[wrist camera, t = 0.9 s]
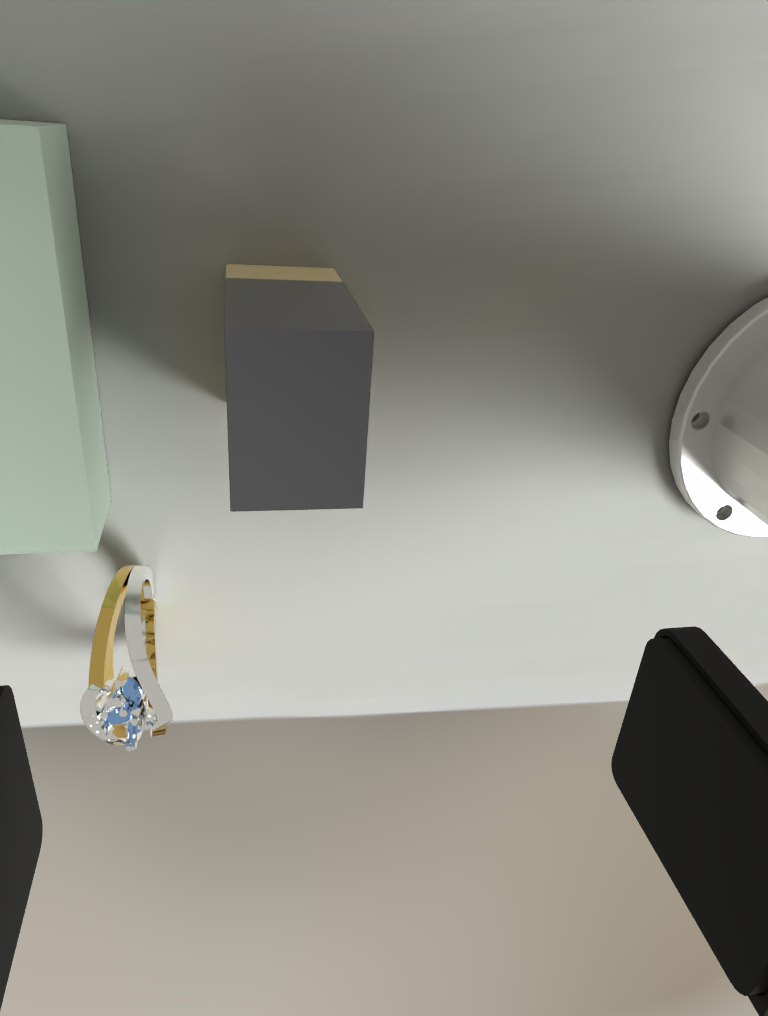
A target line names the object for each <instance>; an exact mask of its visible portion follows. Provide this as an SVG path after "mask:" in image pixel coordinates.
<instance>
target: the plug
mask: <svg viewBox="0 0 768 1016" xmlns="http://www.w3.org/2000/svg"><path fill="white" fill-rule="evenodd" d="M224 332H225V361H226V391H227V421H228V450H229V480H230V509H231V511H269V510H308V509H347V508H363V497H364V481H365V465H366V450H367V434H368V418H369V402H370V387H371V371H372V355H373V340H374V330H373V329H372V327H371V326H370V324H369V323H368V321H367V319H366V318H365V316H364V315H363V313H362V312H361V310H360V308H359V307H358V305H357V304H356V302H355V300H354V299H353V297H352V296H351V294H350V293H349V291H348V289H347V288H346V286H345V285H344V283H343V282H342V280H341V278H340V277H339V275H338V274H337V272H336V270H335V269H334V268H319V267H293V266H267V265H241V264H226V290H225V324H224Z"/></svg>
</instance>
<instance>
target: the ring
mask: <svg viewBox="0 0 768 1016" xmlns="http://www.w3.org/2000/svg"><path fill="white" fill-rule="evenodd" d="M125 596H126V599H125V634H126V641H127V647H128V652H129V656H130V660H131V663H132V666H133V669H134V672H135V674H136V675H135V674H134V673H132V672H130V669H128V668H126V667H122V668H121V670H120V673H119V675H118V677H117V680H112V679H113V677H114V675H113V645H114V636H115V630H116V625H117V620H118V616H119V613H120V610H121V606H122V604H123V601H124V598H125ZM155 608H156V592H154V582H153V576H152V572H151V569H150V567H149V566H138V565H125V566H123V567H121V568H120V569H119V571H118V572H117V573H116V575H115V577H114V578H113V580H112V582H111V584H110V586H109V588H108V591H107V593H106V596H105V598H104V601H103V604H102V607H101V611H100V614H99V618H98V622H97V626H96V630H95V635H94V640H93V646H92V653H91V661H90V672H89V688H88V689H87V690H86V691H85V693H84V694H83V696H82V699H81V703H80V713H81V717H82V719H83V721H84V723H85V725H86V726H87V727H88V729H89V730H90V731H91V732H92V733H94V734H95V735H96V736H97V737H99V738H100V739H102V740H103V741H105V742H107V743H109V744H111V745H125V744H126V749H127V750H128V751H132V750H134V749H136V748H137V741H138V740H139V738H140V736H141V734H142V731H143V730H148V729H150V732H151V737H155V736H160V735H165V733H166V724H168V723H170V722H171V721H172V718H173V715H172V711H171V708H170V705H169V703H168V701H167V699H166V697H165V695H164V694H163V692H162V690H161V688H160V686H159V684H158V672H157V647H156V619H155ZM104 694H107V697H106V701H105V703H104V706H103V707H102V705H101V697H102V696H103V695H104ZM147 698H148V704H147ZM124 722H127V725H126V727H125V728H124V727H122V726H121V725H119V724H122V723H124Z"/></svg>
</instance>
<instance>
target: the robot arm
mask: <svg viewBox="0 0 768 1016" xmlns="http://www.w3.org/2000/svg"><path fill="white" fill-rule="evenodd" d="M669 453H670V466H671V470H672V473H673V476H674V480H675V483H676V486H677V487H678V489H679V491H680V492H681V494H682V496H683V497H684V499H685V501H686V502H687V503H688V504H689V505H690V506H691V507H692V508H693V509H694V510H695V511H696V512H697V513H698V514H700V515H701V516H702V517H703V518H704V519H706V520H707V521H708V522H709V523H711V524H712V525H714V526H715V527H717V528H720V529H722V530H725V531H727V532H730V533H732V534H736V535H743V536H749V537H768V297H767V298H765V299H763V300H762V301H760V302H758V303H757V304H755V305H753V306H752V307H751V308H750V309H748V310H747V311H746V312H745V313H743V314H742V315H741V316H739V317H738V318H737V319H736V320H734V321H733V322H732V323H731V324H730V325H729V326H728V327H727V328H726V329H725V330H724V331H723V332H722V333H721V334H720V335H719V336H718V337H717V338H716V340H715V341H714V342H713V343H712V344H711V345H710V346H709V347H708V349H707V350H706V352H705V353H704V354H703V356H702V357H701V359H700V360H699V362H698V363H697V364H696V366H695V367H694V369H693V370H692V372H691V374H690V376H689V378H688V380H687V382H686V384H685V386H684V388H683V390H682V392H681V394H680V397H679V400H678V403H677V406H676V409H675V412H674V415H673V419H672V424H671V432H670V439H669ZM612 772H613V776H614V780H615V782H616V784H617V785H618V787H619V789H620V791H621V793H622V794H623V796H624V798H625V800H626V801H627V803H628V805H629V807H630V808H631V810H632V812H633V813H634V815H635V817H636V819H637V820H638V822H639V824H640V826H641V827H642V829H643V831H644V833H645V834H646V836H647V838H648V839H649V841H650V843H651V845H652V846H653V848H654V850H655V852H656V853H657V855H658V857H659V858H660V860H661V862H662V864H663V866H664V867H665V869H666V871H667V872H668V874H669V876H670V877H671V879H672V881H673V883H674V885H675V886H676V888H677V890H678V892H679V893H680V895H681V897H682V899H683V900H684V902H685V904H686V906H687V907H688V909H689V911H690V912H691V914H692V916H693V918H694V919H695V921H696V923H697V925H698V926H699V928H700V930H701V931H702V933H703V935H704V937H705V939H706V940H707V942H708V943H709V945H710V947H711V949H712V951H713V953H714V954H715V956H716V958H717V959H718V961H719V963H720V965H721V966H722V968H723V970H724V971H725V973H726V975H727V977H728V979H729V980H730V982H731V983H732V985H733V986H734V988H735V989H736V990H737V991H738V992H739V993H740V994H743V995H744V996H748V997H749V999H750V1001H751V1002H752V1004H753V1006H754V1008H755V1009H756V1011H757V1013H758V1014H759V1016H768V701H767V700H766V699H765V698H764V697H763V696H762V695H761V694H760V693H759V691H758V690H757V689H756V688H755V687H754V686H753V685H752V684H751V682H750V681H749V680H748V679H747V678H746V677H745V676H744V675H743V674H742V673H741V671H740V670H739V669H738V668H737V667H736V666H735V665H734V664H733V663H732V662H731V660H730V659H729V658H728V657H727V656H726V655H725V654H724V653H723V652H722V651H721V649H720V648H719V647H718V646H717V645H716V644H715V643H714V642H713V641H712V640H711V638H710V637H709V636H708V635H707V634H706V633H705V632H704V631H703V630H702V629H700V628H698V627H681V628H666V629H661V630H659V631H658V632H657V633H656V635H655V637H654V639H650V640H649V641H648V642H647V644H646V647H645V650H644V653H643V657H642V660H641V663H640V667H639V670H638V673H637V677H636V680H635V683H634V687H633V690H632V693H631V697H630V700H629V703H628V707H627V710H626V714H625V717H624V720H623V723H622V727H621V730H620V733H619V737H618V740H617V743H616V747H615V750H614V753H613V757H612ZM41 843H42V818H41V814H40V809H39V805H38V801H37V796H36V792H35V788H34V783H33V779H32V774H31V770H30V766H29V761H28V757H27V752H26V748H25V744H24V739H23V735H22V731H21V726H20V722H19V717H18V713H17V709H16V704H15V700H14V695H13V692H12V689H11V687H10V686H8V685H5V686H0V1008H1V1005H2V1001H3V997H4V993H5V989H6V985H7V981H8V977H9V973H10V969H11V965H12V961H13V957H14V953H15V949H16V945H17V941H18V937H19V933H20V929H21V925H22V921H23V917H24V913H25V908H26V905H27V901H28V896H29V893H30V889H31V885H32V880H33V877H34V873H35V868H36V865H37V861H38V857H39V853H40V848H41Z"/></svg>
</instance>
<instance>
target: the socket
mask: <svg viewBox="0 0 768 1016" xmlns="http://www.w3.org/2000/svg"><path fill="white" fill-rule="evenodd" d="M111 502H112V500H111V491H110V483H109V475H108V467H107V458H106V450H105V442H104V433H103V425H102V417H101V408H100V400H99V392H98V384H97V375H96V367H95V359H94V350H93V342H92V334H91V325H90V317H89V309H88V301H87V292H86V284H85V276H84V267H83V259H82V251H81V242H80V234H79V226H78V218H77V209H76V201H75V193H74V184H73V176H72V168H71V159H70V151H69V143H68V135H67V126H66V124H61V123H47V122H33V121H19V120H5V119H0V555H8V554H37V553H65V552H94V551H97V548H98V545H99V541H100V538H101V535H102V531H103V528H104V525H105V522H106V518H107V515H108V512H109V508H110V505H111Z"/></svg>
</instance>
